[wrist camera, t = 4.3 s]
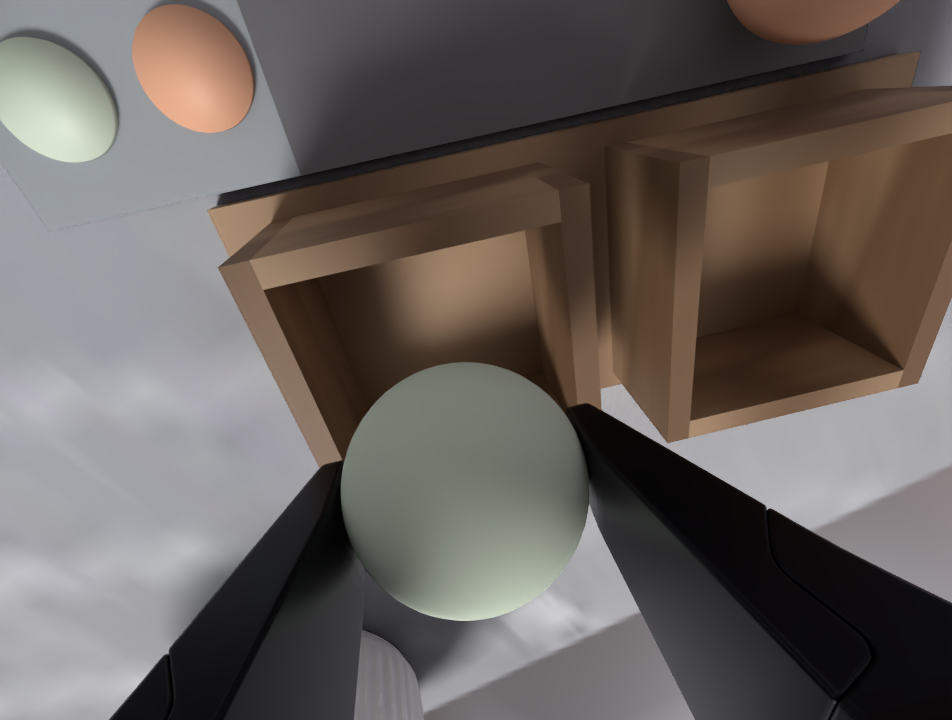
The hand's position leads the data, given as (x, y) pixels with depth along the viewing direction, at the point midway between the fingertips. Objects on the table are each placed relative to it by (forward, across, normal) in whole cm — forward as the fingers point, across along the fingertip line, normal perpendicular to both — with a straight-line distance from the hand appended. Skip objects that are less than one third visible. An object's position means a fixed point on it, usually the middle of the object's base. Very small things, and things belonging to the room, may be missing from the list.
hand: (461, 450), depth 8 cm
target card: (+7, +6, -7) cm, 11 cm away
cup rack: (+7, -4, 0) cm, 8 cm away
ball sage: (+1, 0, 0) cm, 1 cm away
